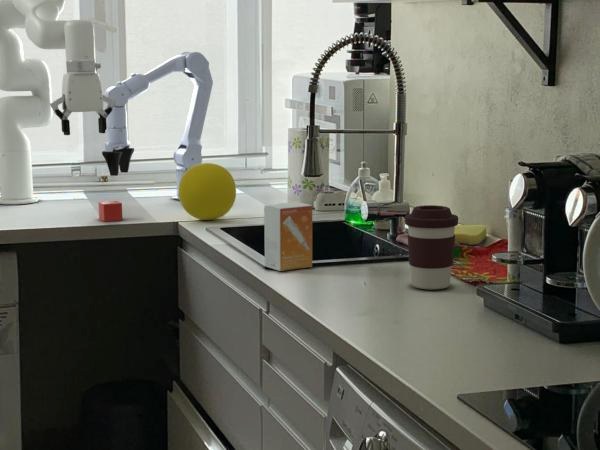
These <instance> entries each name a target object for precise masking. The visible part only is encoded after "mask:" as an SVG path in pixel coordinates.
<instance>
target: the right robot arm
mask: <svg viewBox="0 0 600 450" xmlns="http://www.w3.org/2000/svg"><path fill="white" fill-rule="evenodd" d="M176 72H179V73H181V72H182V73H183V74H184V75H186V76H187V77H188V78H189V79H190V81H191V83H192V84H193V85H194V87H193V92H192V95H191V100H190V104H189V108H188V114H187V117H186V118H187V119H186V124H185V128H184V132H183V136H182V138H180V141H179V143H178V146H177V148H176V149H175V151H174V153H173V162H174V163H175V164H176V168H175V169H176V170H175V174H176V175H175V176H176V179H175V180H176V181H175V182H176V196H171V197H170V199H173V200H179V201H180V198H179V184H180V181H181V178H182V176H183V175H184V173H185V172H186V171H187V170H188V169H190V168H191V167H193V166H195V165H198V164H202V163H203V154H202V149H203V145H202V141H201V139H202V136H203V135H202V134H203V130H204V126H205V121H206V116H207V112H208V107H209V103H210V99H211V94H212V89H213V85H214V80H213V77H212V73H211V70H210V62H209V60H208V59H207V58H206V56H205V55H204V54H203V53H201V52H198V51H194V52H193V51H192V52H190V51H183V52H182V53H181V54H177V55H175V56H172V57H171V58H169V59H167V60H166V61H164V62H162V63H161V64H159V65H157V66H156V67H154V68H153V69H151V70H149V71H148V72H146V73H141V72H137V73H136V72H132V73H131V74H130V77H128V78H126V79H125V80H122V81H117V82H116V86H115V85H114V86H110V87H108V88H106V90H105V92H104V96H106V97H108V98H110V99H112V100H114V101H115V104H114V107H113V109H112V112H111V113H110V114H109V115H108V117H107V118H106V124H107V142H104V150H103V151H101V155H102V156H103V158H104V161H105V163H106V165H107V168H108V172H109V175H110V176H119V171H120V173H126V174H127V173H128V172H129V169H130V164H131V160H132V156H133V154H134V152H135V147H131V146H132V143H131V140H129V139H128V138H129V137H128V112H127V104H128V103H129V101H131V100H132V99H134V98H136V97H138V96H140V95H142V94H143V93H145V92H147V91H149V89H150V86H151V84H152V83H154V82H156V81H158V80H160V79H162V78H164V77H166V76H168V75H171V74H173V73H176ZM107 106H108V103H106V107H107Z"/></svg>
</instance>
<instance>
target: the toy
mask: <svg viewBox="0 0 600 450" xmlns="http://www.w3.org/2000/svg"><path fill="white" fill-rule="evenodd" d="M236 197H237V187H236V182H235V180H234V177H233V175H232V174H231V173H230V171H228V169H226V168H225V167H224V166H222V165H219V164H218V163H211V162H202V163H201V164H198V165H195V166H193V167H191V168H190V169H188V170H187V171H186V172H185V173H184V175H183V176H182V178H181V181H180V184H179V198H180V200H179V202H180V204H181V206H182V208H183V209H184V211H185V212H186V213H187V214H188V215H190V216H191V217H193V218H195V219H197V220H203V221H210V220H211V221H212V220H216V219H217V220H218V219H219V218H222V217H224V216H225V215H227V214H228V213H229V212H230V211H231V209H232V208H233V206H234V204H235V201H236Z"/></svg>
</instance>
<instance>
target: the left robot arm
mask: <svg viewBox="0 0 600 450" xmlns="http://www.w3.org/2000/svg"><path fill="white" fill-rule="evenodd" d="M65 2H66V1H65V0H0V91H3V92H31V95H8V96H2V97H0V205H25V204H26V205H27V204H33V203H38V202H39V201H40V197H39V196H38V195H34V181H33V162H32V144H31V140H30V139H29V137H28V136H27V134H25V132H24V131H23V129H28V128H29V129H30V128H43V127H47V126H49V125H50V124H51V122H52V119H53V114H54V115H56V116H57V117H58V118H59V120H60V121H61V124H60V125H61V132H62V133H63V135H64V136H70V135H71V125H70V120H69V119H68V118H69V117H70V115H71V114H72V113H86V112H90V113H91V112H95V113H96V114H97V115H98V116H99V117H98V118H97V121H98V122H97V124H98V133H99V134H106V131H107V130H108V128H107V117H108V115H109V114H110V113H111V112H112V109H113V107H114V104H115V101H114V100H112V99H110V98H108V97H106V96H105V94H104V93H103V87H102V82H101V78H100V73H98V70H99V69H101V68H102V64H101V63H100V62H97V60H96V44H95V42H96V41H95V27H94V26H95V25H94V23H93V22H92V21H91V20H88V19H70V20H61V19H60V20H58V19H59V16H60V14H61V13H62V12H63V10H64V8H65V4H66V3H65ZM13 29H25V33H26V36H27V38H28V40H29V41H31V43H32V44H34V45H35V46H36V47H38V48H39V49H42V50H65V62H66V65H65V67H66V68H65V69H66V73H63V75H62V82H61V85H62V86H61V96H60V97H58V98H57V99H54V100H53V97H52V84H51V83H52V81H51V74H50V73H51V72H50V69H49V67H48V65H47V63H46V62H45V61H44V60H42V59H39V58H25V57H24V45H23V42H22V39H21V38H20V36H19V35H18V34H17V32H15V30H13ZM104 103H106V104H107V103H108V106H107V105H106V108H105V109H104ZM59 105H61V109H62V110H63V111H61V110H60V109H59Z"/></svg>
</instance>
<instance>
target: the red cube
mask: <svg viewBox="0 0 600 450" xmlns="http://www.w3.org/2000/svg"><path fill="white" fill-rule="evenodd" d="M98 219H99V220H100V221H102V222H104V223H109V222H118V221H120V222H121V221H123V202H120V201H118V200H108V201H107V200H106V201H98Z"/></svg>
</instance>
